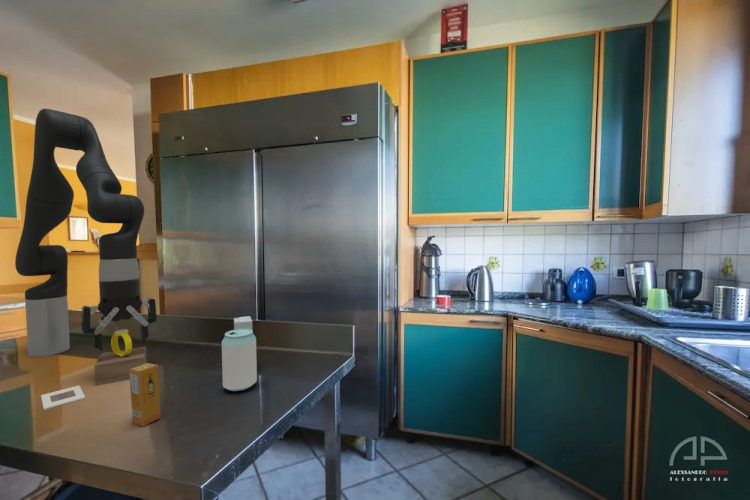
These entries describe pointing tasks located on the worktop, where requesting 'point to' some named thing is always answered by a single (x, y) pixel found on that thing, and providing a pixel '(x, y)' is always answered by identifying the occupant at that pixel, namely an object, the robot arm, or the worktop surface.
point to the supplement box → (145, 394)
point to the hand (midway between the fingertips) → (122, 344)
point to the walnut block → (117, 366)
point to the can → (239, 359)
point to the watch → (126, 339)
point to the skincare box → (243, 323)
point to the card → (62, 397)
